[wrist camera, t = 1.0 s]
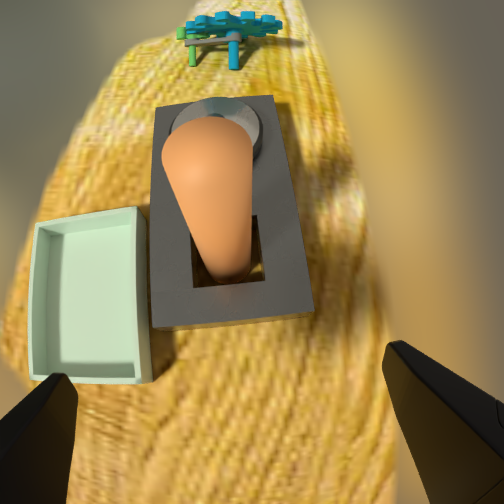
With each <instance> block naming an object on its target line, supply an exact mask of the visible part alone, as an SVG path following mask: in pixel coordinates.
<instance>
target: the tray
mask: <svg viewBox="0 0 504 504" xmlns="http://www.w3.org/2000/svg"><path fill="white" fill-rule="evenodd" d="M146 222H147V221H146V219H145V218H144V216H143V215H142V213H141V212H140V210H139V209H138V207H137V206H133V207H126V208H120V209H113V210H107V211H101V212H94V213H88V214H82V215H77V216H71V217H65V218H60V219H54V220H49V221H44V222H39V223H36V225H35V232H34V239H33V248H32V257H31V267H30V280H29V298H28V358H29V376H30V380H39V381H44V380H45V379H46V378H47V377H48V376H49V375H51V374H52V373H54V372H58V373H65V374H66V375H67V376H68V377H69V379H70V381H71V382H72V383H88V384H145V383H151V382H153V374H152V363H151V351H150V337H149V321H148V301H147V265H146Z"/></svg>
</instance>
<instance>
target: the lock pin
mask: <svg viewBox="0 0 504 504" xmlns="http://www.w3.org/2000/svg"><path fill="white" fill-rule="evenodd" d="M252 162H253V147H252V141H251V139H250V136H249V135H248V133H247V132H246V130H245V129H244V128H243V127H241V126H240V125H239V124H237V123H236V122H234V121H232V120H229V119H226V118H222V117H202V118H197V119H194V120H191V121H188V122H186V123H184V124H183V125H181V126H179V127H178V128H177V129H176V130H174V131H173V132H172V133H171V135H170V136H169V137H168V138H167V140H166V142H165V144H164V146H163V150H162V164H163V167H164V169H165V172H166V174H167V177H168V179H169V182H170V184H171V187H172V189H173V192H174V194H175V196H176V199H177V201H178V204H179V206H180V208H181V211H182V213H183V216H184V218H185V220H186V223H187V225H188V227H189V230H190V232H191V234H192V237H193V239H194V241H195V244H196V246H197V248H198V251H199V253H200V255H201V258H202V260H203V262H204V264H205V267H206V269H207V271H208V273H209V275H210V276H211V277H212V278H213V279H214V280H215V281H217V282H219V283H222V284H234V283H237V282H239V281H241V280H242V279H243V278H244V277H245V276H246V275H247V274H248V272H249V270H250V266H251V225H252Z"/></svg>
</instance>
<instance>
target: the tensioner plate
mask: <svg viewBox="0 0 504 504" xmlns="http://www.w3.org/2000/svg"><path fill="white" fill-rule="evenodd" d="M202 117H222V118H226V119H229V120H232V121H234V122H236V123H237V124H239V125H240V126H241V127H243V128H244V129H245V130H246V132H247V133H248V135H249V136H250V139H251V141H252V147H253V162H252V225H251V230H256V232H257V240H258V248H259V256H260V263H261V271H262V279H263V281H259V282H250V283H241V284H231V285H222V286H212V287H202V288H198V276H197V261H196V245H195V241H194V239H193V237H192V234H191V232H190V230H189V227H188V225H187V223H186V220H185V218H184V216H183V213H182V211H181V208H180V206H179V204H178V201H177V199H176V196H175V194H174V192H173V189H172V187H171V184H170V182H169V179H168V177H167V174H166V172H165V169H164V167H163V164H162V150H163V146H164V144H165V142H166V140H167V138H168V137H169V136H170V135H171V133H172V132H173V131H174V130H176V129H177V128H178V127H179V126H181V125H183V124H184V123H186V122H188V121H191V120H194V119H197V118H202ZM150 284H151V309H152V327H153V328H155V329H157V330H160V331H163V332H164V331H178V330H190V329H202V328H213V327H224V326H234V325H243V324H252V323H261V322H269V321H278V320H285V319H293V318H301V317H308V316H309V315H310V314H311V313H313V312H314V311H315V309H314V303H313V297H312V290H311V284H310V278H309V272H308V266H307V260H306V254H305V249H304V243H303V237H302V232H301V226H300V221H299V216H298V210H297V205H296V200H295V195H294V190H293V185H292V180H291V175H290V170H289V165H288V160H287V156H286V151H285V146H284V142H283V137H282V133H281V128H280V124H279V119H278V115H277V111H276V106H275V102H274V98H273V95H261V96H246V97H234V98H227V97H212V98H206V99H202V100H200V101H197V102H189V103H182V104H176V105H169V106H163V107H157V108H156V111H155V122H154V135H153V150H152V167H151V192H150Z"/></svg>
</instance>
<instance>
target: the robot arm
mask: <svg viewBox="0 0 504 504" xmlns="http://www.w3.org/2000/svg"><path fill="white" fill-rule="evenodd" d="M382 371H383V374H384V378H385V381H386V384H387V387H388V391H389V394H390V398H391V401H392V404H393V408H394V411H395V414H396V417H397V420H398V422H399V425H400V427H401V430H402V432H403V434H404V437H405V439H406V442H407V444H408V447H409V449H410V452H411V454H412V457H413V459H414V462H415V465H416V467H417V470H418V472H419V475H420V478H421V480H422V483H423V486H424V488H425V491H426V494H427V496H428V499H429V502H430V504H504V404H503V403H502V402H501V401H499V400H496V399H495V398H494V397H492V396H491V395H489V394H487V393H486V392H484V391H483V390H481V389H479V388H478V387H476V386H474V385H473V384H472V383H470V382H468V381H466V380H465V379H464V378H462V377H460V376H459V375H457V374H455V373H454V372H452V371H451V370H449V369H448V368H446V367H444V366H443V365H441V364H440V363H438V362H436V361H435V360H433V359H432V358H430V357H428V356H427V355H425V354H424V353H422V352H420V351H419V350H417V349H415V348H414V347H412V346H411V345H409V344H407V343H406V342H404V341H402V340H398V341H393V342H389V343H388V344H387V346H386V349H385V353H384V357H383V361H382ZM77 406H78V393H77V391H76V389H75V387H74V386H73V384H72V382H71V381H70V379H69V377H68V376H67V375H66V374H65V373H58V372H54V373H52V374H51V375H49V376H48V377H47V378H46V379H45V380H44V381H43V382H42V383H40V384H39V385H38V386H37V387H36V388H35V389H34V390H33V391H31V392H30V393H29V394H28V395H27V396H26V397H25V398H24V399H23V400H22V401H20V402H19V403H18V404H17V405H16V406H15V407H14V408H13V409H12V410H11V411H9V412H8V414H6V415H5V416H4V417H3V418H2V419H1V420H0V504H66V498H67V490H68V482H69V474H70V467H71V461H72V454H73V448H74V441H75V429H76V417H77Z"/></svg>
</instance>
